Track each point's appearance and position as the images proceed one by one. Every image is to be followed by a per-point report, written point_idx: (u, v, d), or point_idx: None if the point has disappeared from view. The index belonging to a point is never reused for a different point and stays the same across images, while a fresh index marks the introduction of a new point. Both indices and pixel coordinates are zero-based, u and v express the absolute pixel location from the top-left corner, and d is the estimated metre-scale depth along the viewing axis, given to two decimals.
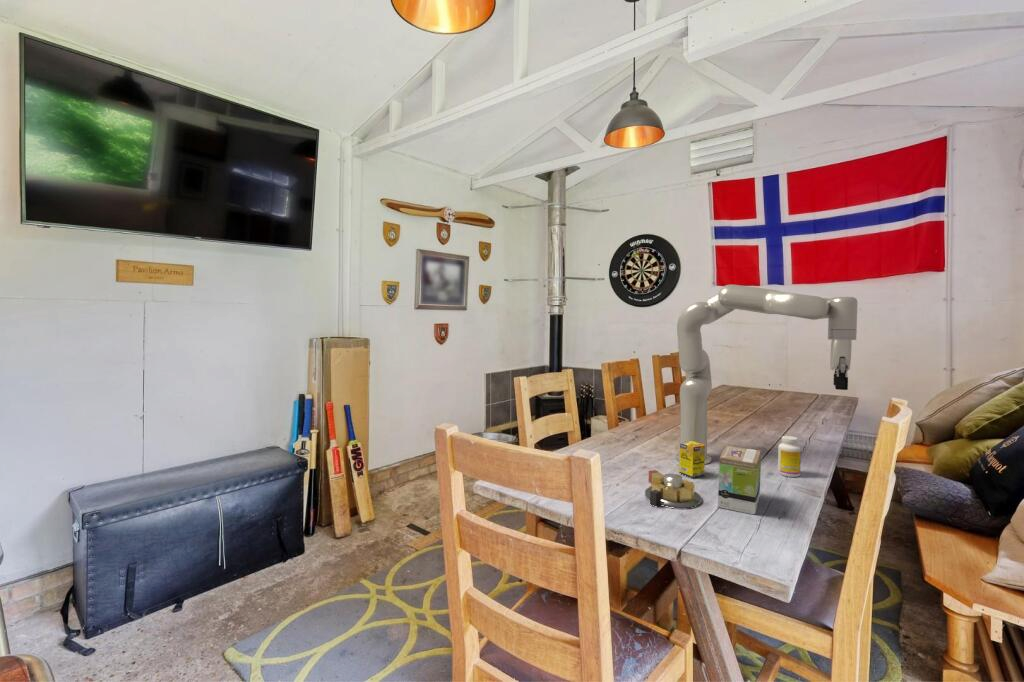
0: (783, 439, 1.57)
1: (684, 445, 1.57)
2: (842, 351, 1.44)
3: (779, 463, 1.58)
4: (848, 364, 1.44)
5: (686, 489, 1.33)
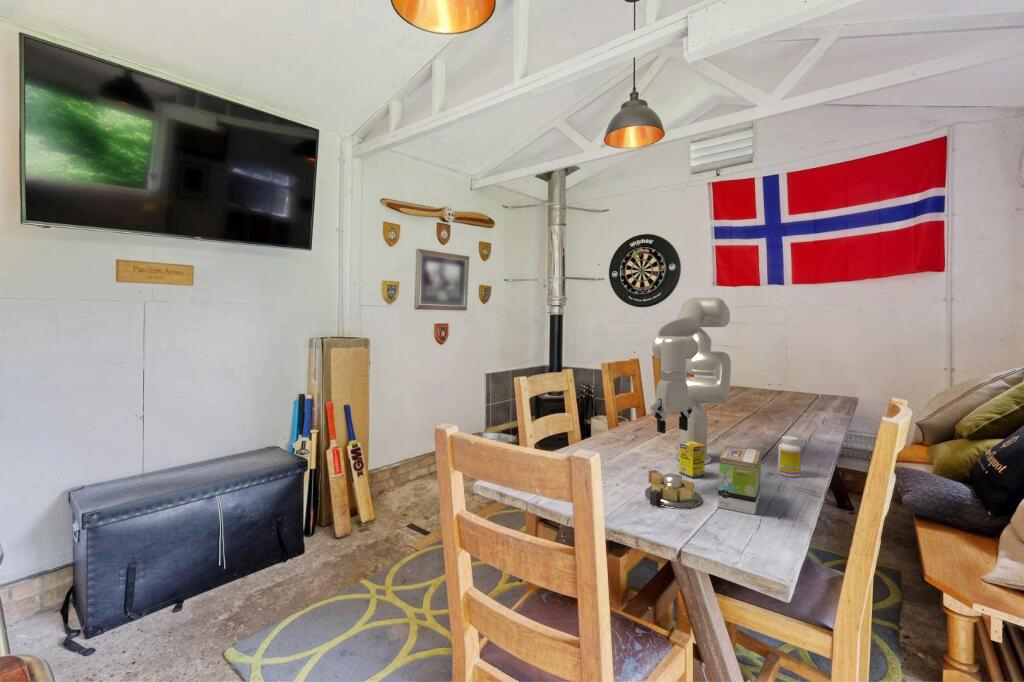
0: (783, 439, 1.57)
1: (684, 445, 1.57)
2: (660, 393, 1.44)
3: (779, 463, 1.58)
4: (663, 407, 1.43)
5: (686, 489, 1.33)
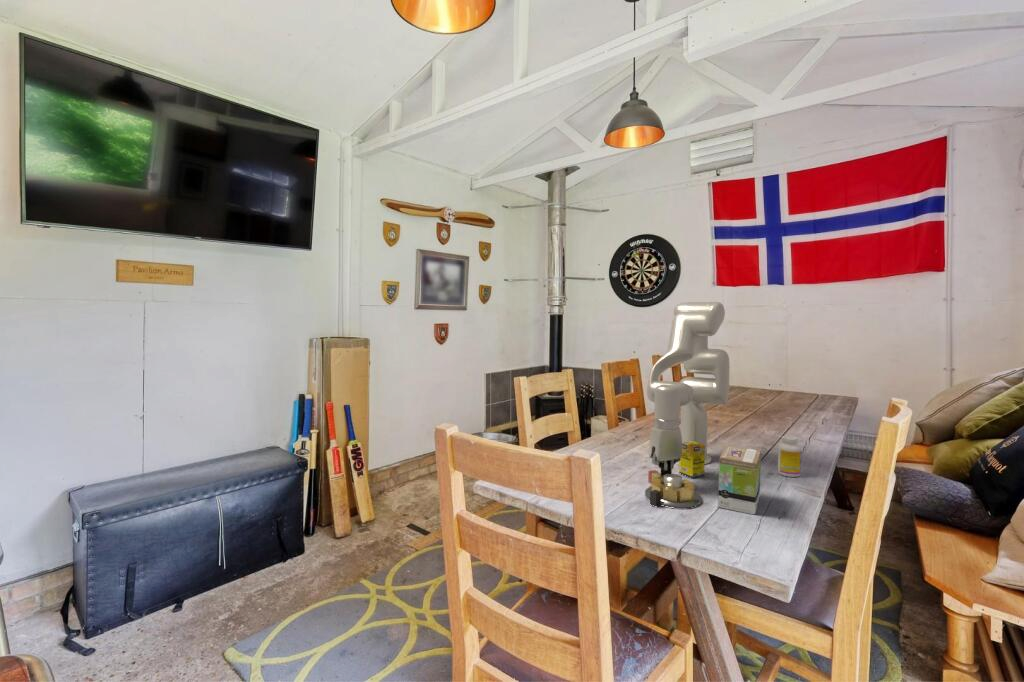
0: (783, 439, 1.57)
1: (684, 445, 1.57)
2: (654, 441, 1.44)
3: (779, 463, 1.58)
4: (657, 455, 1.42)
5: (686, 489, 1.33)
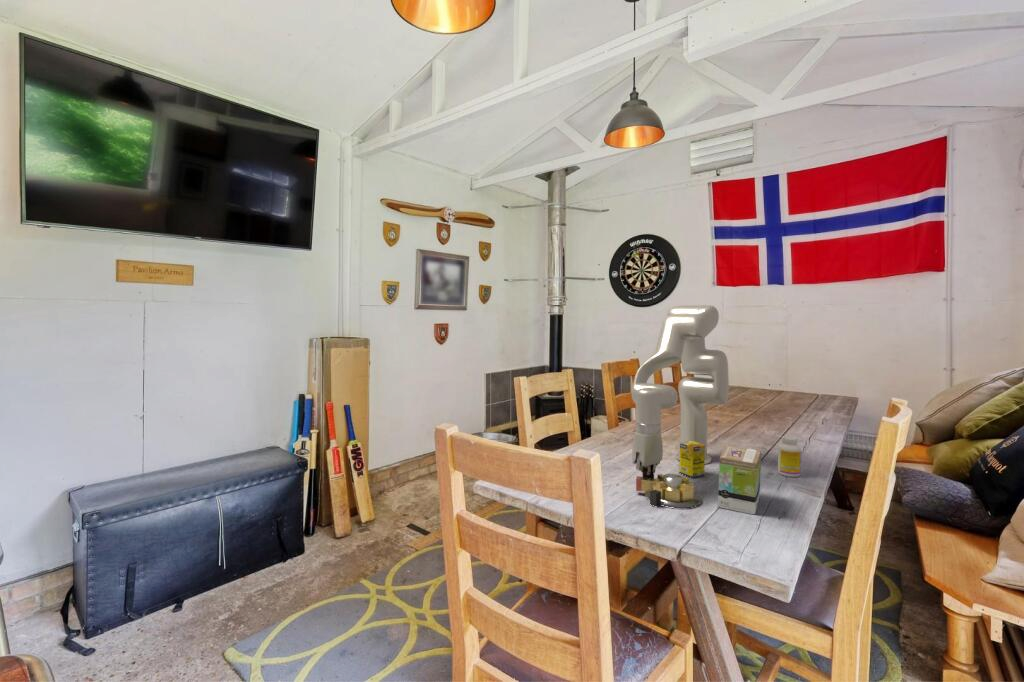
0: (783, 439, 1.57)
1: (684, 445, 1.57)
2: (638, 446, 1.40)
3: (779, 463, 1.58)
4: (642, 461, 1.39)
5: (690, 484, 1.37)
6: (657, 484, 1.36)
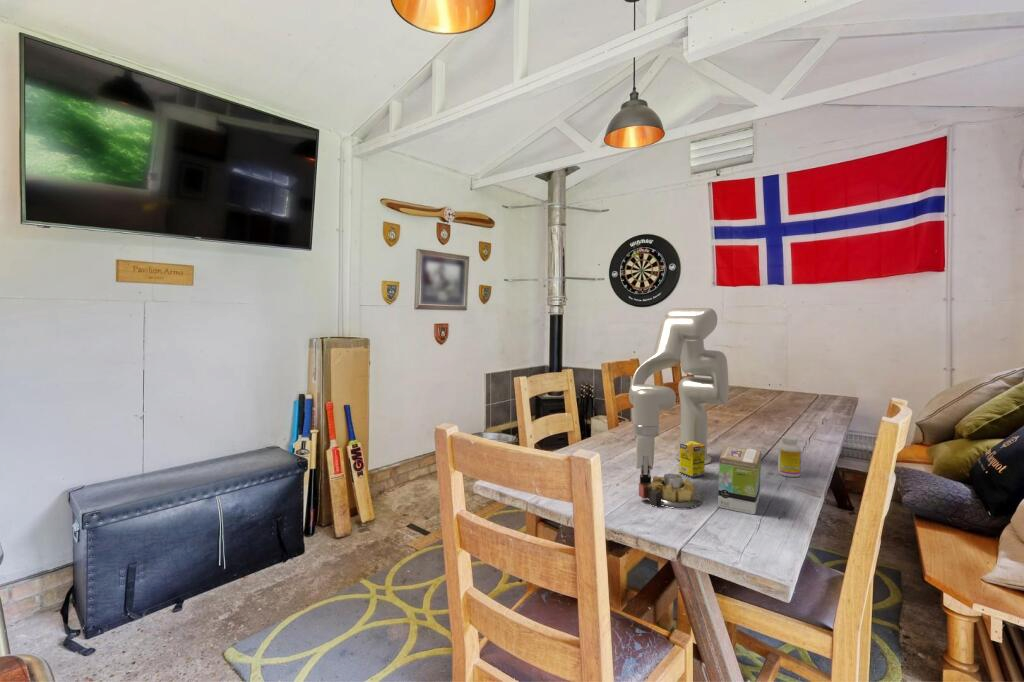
0: (783, 439, 1.57)
1: (684, 445, 1.57)
2: (645, 450, 1.35)
3: (779, 463, 1.58)
4: (651, 464, 1.35)
5: (685, 481, 1.40)
6: (667, 487, 1.33)
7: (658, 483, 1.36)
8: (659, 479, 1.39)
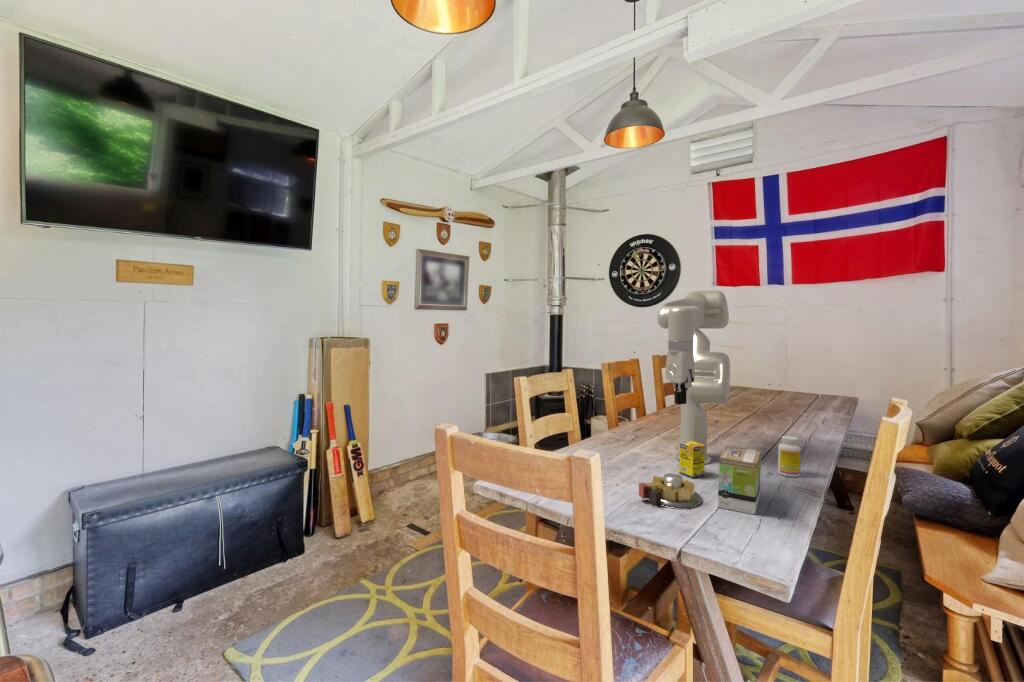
0: (783, 439, 1.57)
1: (684, 445, 1.57)
2: (689, 364, 1.40)
3: (779, 463, 1.58)
4: (694, 376, 1.41)
5: (685, 481, 1.40)
6: (667, 487, 1.33)
7: (658, 483, 1.36)
8: (659, 479, 1.39)
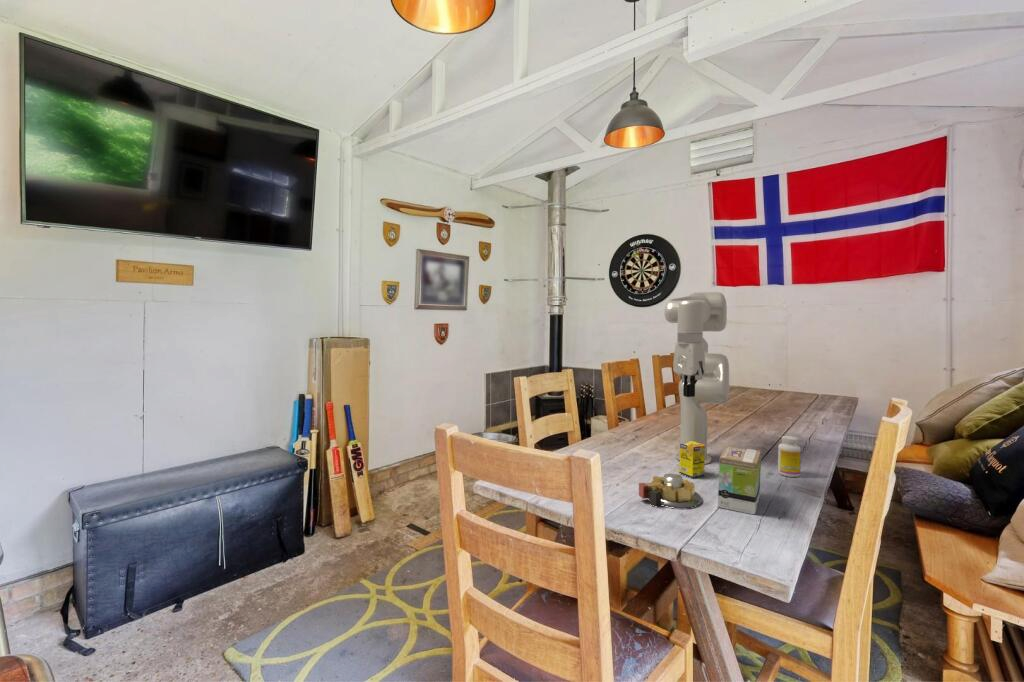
0: (783, 439, 1.57)
1: (684, 445, 1.57)
2: (700, 356, 1.41)
3: (779, 463, 1.58)
4: (704, 368, 1.42)
5: (685, 481, 1.40)
6: (667, 487, 1.33)
7: (658, 483, 1.36)
8: (659, 479, 1.39)
